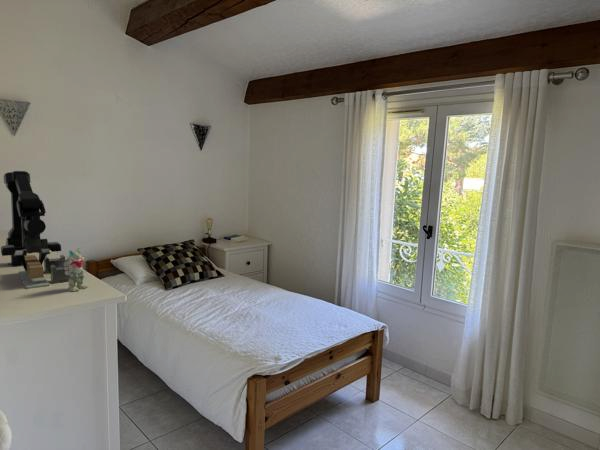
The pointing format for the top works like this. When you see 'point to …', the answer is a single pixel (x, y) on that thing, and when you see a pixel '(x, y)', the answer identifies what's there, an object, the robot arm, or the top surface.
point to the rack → (56, 269)
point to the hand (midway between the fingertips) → (32, 270)
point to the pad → (32, 281)
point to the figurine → (74, 270)
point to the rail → (33, 267)
